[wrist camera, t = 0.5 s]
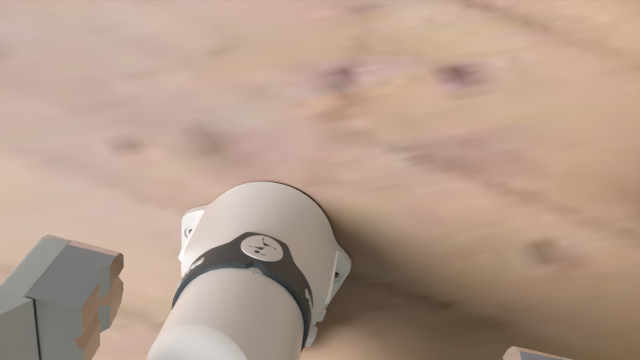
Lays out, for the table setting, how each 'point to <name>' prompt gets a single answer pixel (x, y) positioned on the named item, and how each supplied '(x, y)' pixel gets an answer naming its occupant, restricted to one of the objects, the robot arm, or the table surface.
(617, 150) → the table surface
